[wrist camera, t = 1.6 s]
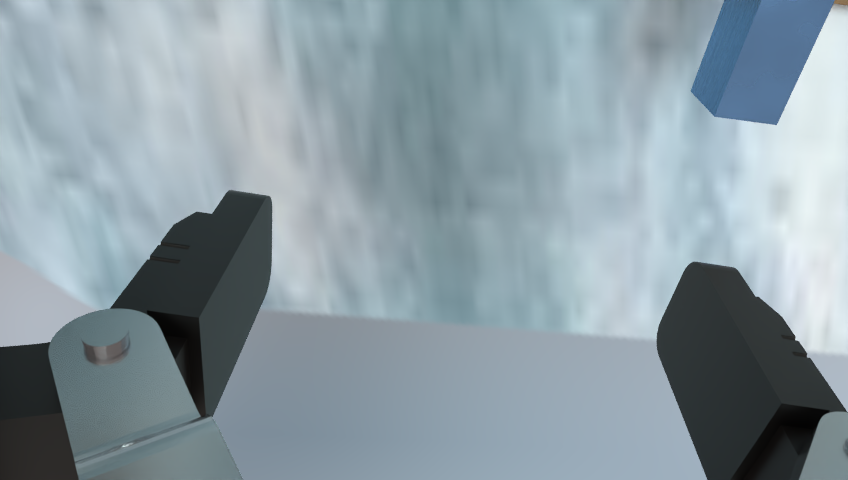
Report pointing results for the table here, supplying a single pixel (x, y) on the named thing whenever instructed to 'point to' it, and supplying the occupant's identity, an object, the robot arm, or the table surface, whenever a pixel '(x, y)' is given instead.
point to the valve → (841, 2)
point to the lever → (757, 56)
